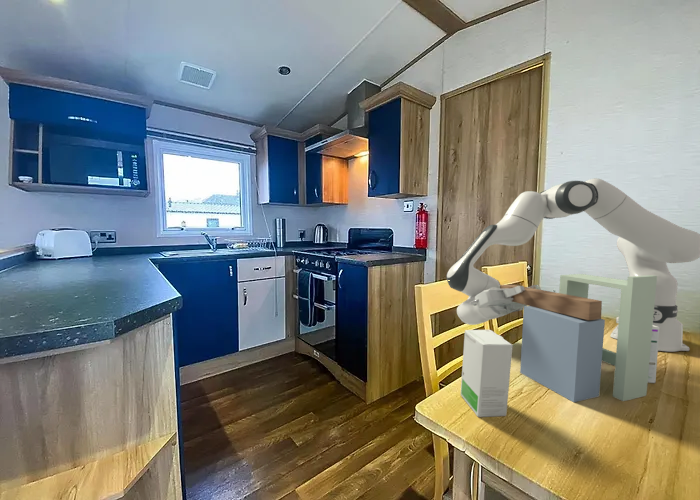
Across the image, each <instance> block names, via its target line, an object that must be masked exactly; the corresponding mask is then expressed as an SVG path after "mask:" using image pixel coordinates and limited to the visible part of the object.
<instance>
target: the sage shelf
mask: <svg viewBox="0 0 700 500" xmlns="http://www.w3.org/2000/svg"><path fill="white" fill-rule="evenodd" d="M559 277H560V278H559V290H558V293H561V294H566V295H572V296H577V297H583V298H588V299H589V289H590V285H595V286H600V287H606V288H612V289H616V290H617V289H618V290H620V291H621V292H620V300H619V311H618V314H619V315H618V317H619V323H617V325H618V337H617V339H616V350H615V351H616V352H614V351H612V350H609V349H607V348H604V347H603V352H602V362H605V363H607V364H609V365H612V366H614V375H613V376H614V377H613V391H612V398H615V399H617V400H619V401H621V402H625V401H630V400H635V399H638V398H641V397H646V396H647V394H648V393H647V392H648V371H649V360H650V349H651V338H652V327H653V315H654V304H655V293H656V282H657V276H653V275H647V276H631V277H630V276H627V280H626V279H620V278H611V277H606V276H599V275H592V274H586V273H576V274H575V273H573V274H571V273H570V274H560V275H559Z"/></svg>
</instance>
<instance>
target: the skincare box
mask: <svg viewBox="0 0 700 500" xmlns="http://www.w3.org/2000/svg"><path fill="white" fill-rule="evenodd" d="M513 347H514V346H513V343H511V342H509V341H507V340H506V339H504V337H503V336H502V335H500V334H497V333H496V332H495V331H493V330H491V329H467V330H466V329H465V330H464V339H463V352H462V353H463V354H462V355H463V356H462V366H461V367H462V369H461V370H462V371H461V381H460V383H461V384H460V397H462V399H463V400H464V402H465V403H466V404H467V405H468V406H469V408H470V409H471V410H472V412H474V413H475V416H476V417H478V418H490V417H493V418H495V417H507V414H508V413H507V411H508V400H509V390H510V388H509V387H510V378H511V367H512V366H511V365H512V355H513V354H512V353H513Z"/></svg>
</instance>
